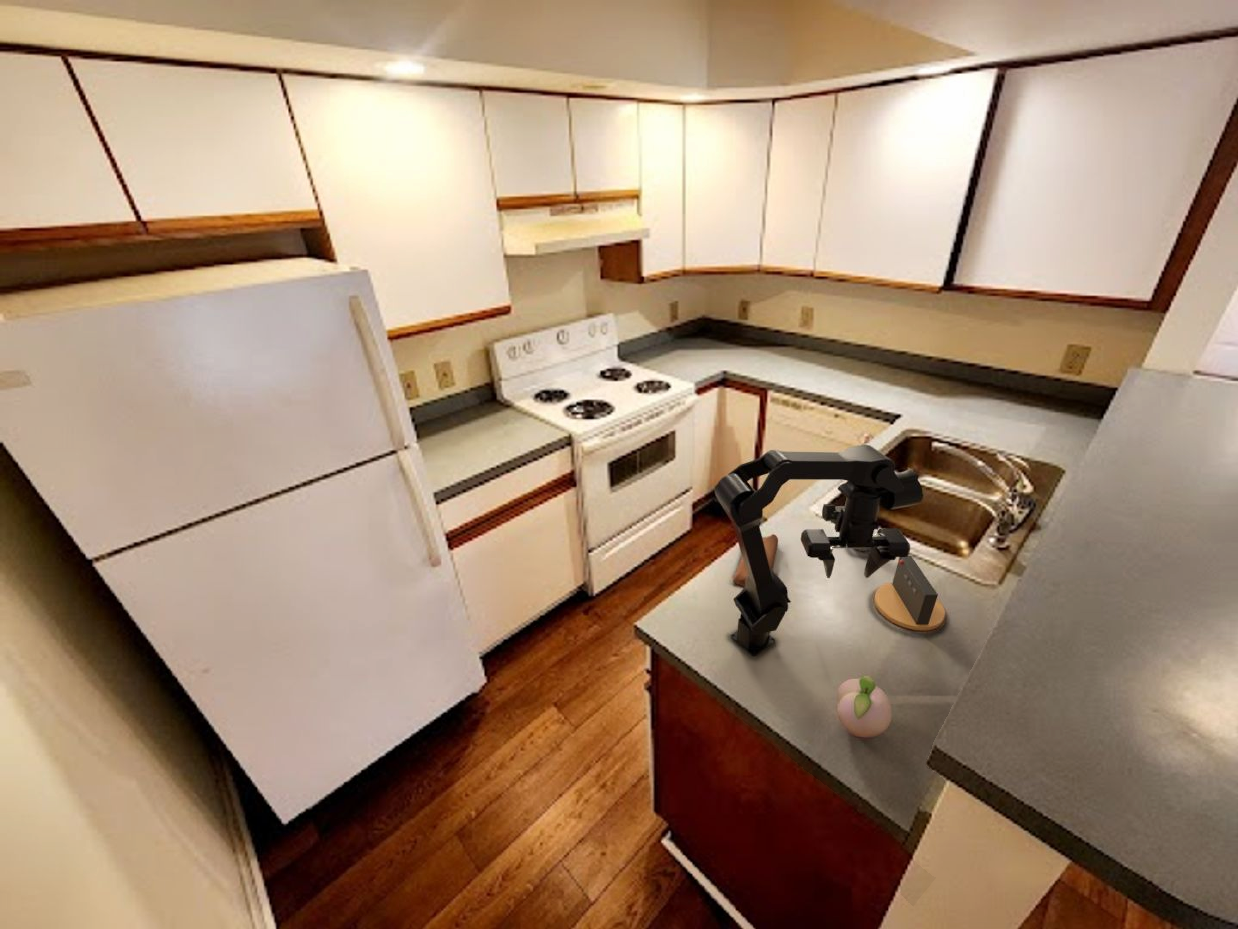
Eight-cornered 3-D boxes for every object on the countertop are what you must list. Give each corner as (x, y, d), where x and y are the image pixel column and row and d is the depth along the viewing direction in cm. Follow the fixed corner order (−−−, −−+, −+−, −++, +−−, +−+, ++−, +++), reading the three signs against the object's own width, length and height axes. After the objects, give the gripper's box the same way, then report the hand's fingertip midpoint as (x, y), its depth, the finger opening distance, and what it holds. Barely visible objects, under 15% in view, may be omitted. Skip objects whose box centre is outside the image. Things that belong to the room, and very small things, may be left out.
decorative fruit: (885, 760, 85) (899, 720, 81) (831, 743, 88) (841, 704, 83) (883, 711, 93) (895, 672, 88) (834, 697, 96) (842, 659, 91)
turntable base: (921, 646, 105) (922, 643, 104) (857, 606, 115) (858, 602, 115) (958, 615, 112) (959, 611, 111) (894, 579, 122) (895, 576, 121)
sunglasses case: (743, 537, 137) (759, 521, 133) (766, 553, 137) (782, 537, 133) (731, 583, 122) (748, 566, 118) (756, 600, 122) (774, 584, 118)
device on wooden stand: (888, 630, 107) (898, 597, 103) (865, 585, 119) (872, 554, 115) (956, 630, 107) (968, 597, 102) (925, 585, 118) (935, 553, 114)
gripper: (894, 488, 105) (878, 550, 113) (798, 489, 106) (789, 551, 114) (920, 520, 95) (901, 587, 103) (814, 521, 96) (803, 587, 104)
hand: (846, 576), depth 106 cm, fingers open, 7 cm apart
